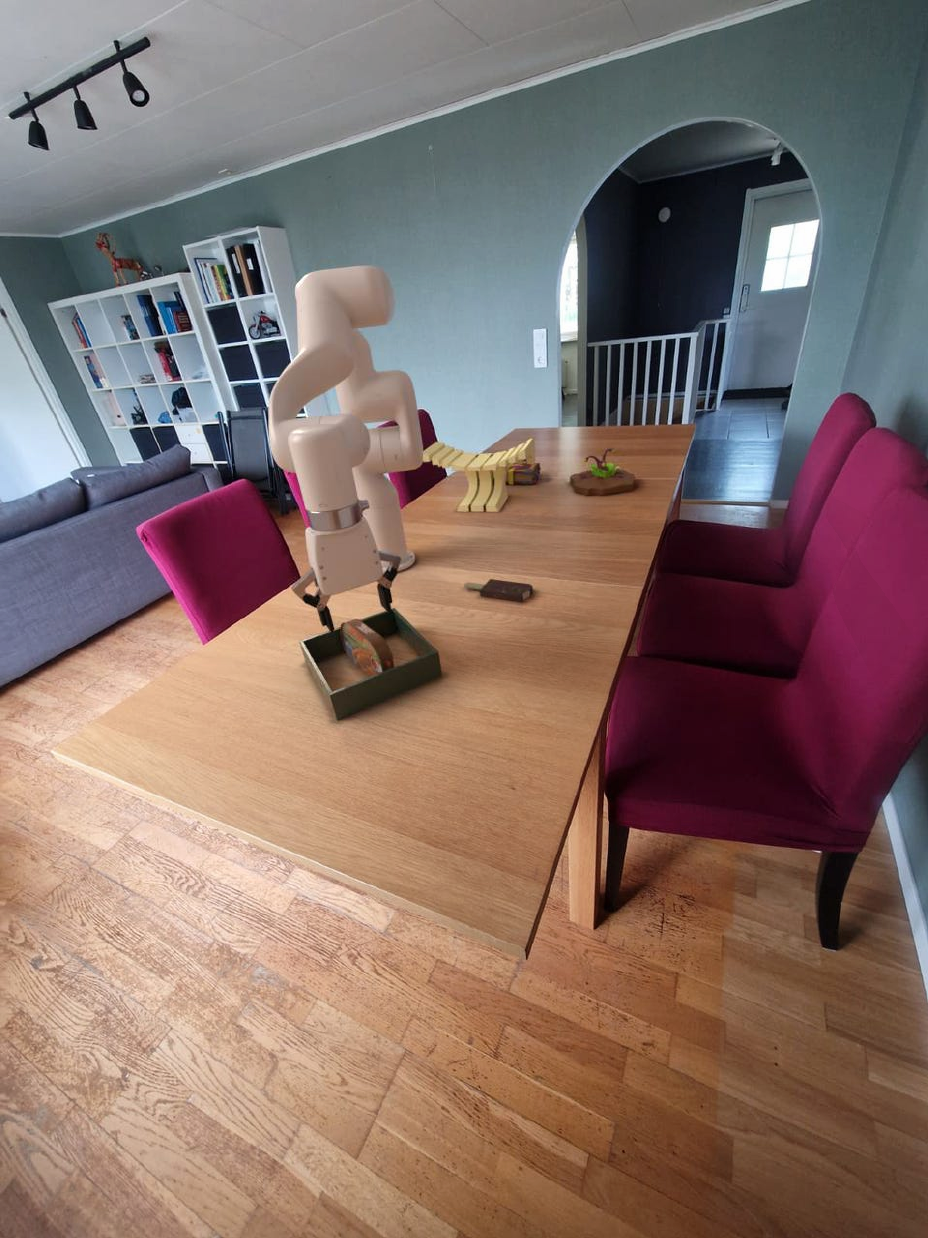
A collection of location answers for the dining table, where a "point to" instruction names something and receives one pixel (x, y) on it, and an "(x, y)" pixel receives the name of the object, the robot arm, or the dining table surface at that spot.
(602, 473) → the plant
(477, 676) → the dining table surface
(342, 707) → the box
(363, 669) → the tin
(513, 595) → the ice cream bar
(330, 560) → the robot arm
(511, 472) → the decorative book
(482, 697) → the dining table surface
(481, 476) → the slatted curved stool
